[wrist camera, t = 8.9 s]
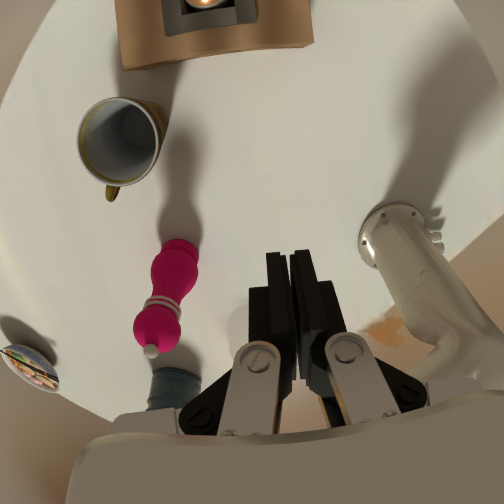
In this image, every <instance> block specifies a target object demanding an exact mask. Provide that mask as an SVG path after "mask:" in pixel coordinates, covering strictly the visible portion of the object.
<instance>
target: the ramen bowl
mask: <svg viewBox="0 0 504 504" xmlns="http://www.w3.org/2000/svg"><path fill="white" fill-rule="evenodd" d="M0 352H1V355H2V358H3V359H4V361H5V362H6V363H7V365H8V366H9V367H10V368H11V369H12V370H13V371H14V372H15V373H16V374H17V375H18V376H20V377H21V378H22V379H24V380H25V381H26V382H28V383H30V384H31V385H33V386H35V387H37V388H39V389H41V390H44V391H46V392H51V393H57V392H59V380H58V376H57V373H56V371H55V369H54V368H53V366H52V365H51V363H50V362H49V361H48V360H47V359H46V358H45V356H44V355H43V354H41V353H40V352H39V351H37V350H35V349H33V348H30V347H28V346H25V345H20V344H13V345H10V346H7V347H5V348H3V349H2V350H0Z"/></svg>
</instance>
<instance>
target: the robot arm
mask: <svg viewBox="0 0 504 504" xmlns="http://www.w3.org/2000/svg"><path fill="white" fill-rule="evenodd" d="M441 238H442V235H441V232H434V233H430V232H429V231H428V230H427V229H426V224H425V220H424V218H423V216H422V215H421V214H420V212H419V211H418V210H417V209H415V208H414V207H413V206H410V205H408V204H404V203H394V204H390V205H387V206H384V207H382V208H380V209H379V210H377V211H376V212H374V213H373V214H372V215H371V216H370V217H369V218H368V219H367V221H366V222H365V223H364V225H363V227H362V229H361V231H360V234H359V238H358V249H359V253H360V255H361V257H362V259H363V260H364V262H365V263H366V264H367V265H368V266H370V267H372V268H374V269H377V270H379V272H380V273H381V275H382V277H383V279H384V281H385V283H386V285H387V287H388V289H389V292H390V294H391V296H392V298H393V300H394V302H395V304H396V306H397V308H398V310H399V313H400V315H401V317H402V319H403V321H404V324H405V326H406V328H407V329H408V331H409V332H410V333H411V335H413V336H414V337H415V338H416V339H418V340H420V341H422V342H425V343H427V344H431V345H434V346H436V347H435V348H434V350H432V351H431V352H430V353H429V354H427V355H426V356H425V357H424V358H423V359H421V360H420V361H419V362H417V363H416V364H414V365H413V366H411V367H410V368H408V369H407V370H405V371H404V372H402V371H400V370H398V369H396V368H394V367H393V366H391V365H389V364H387V363H385V362H383V361H381V360H379V359H378V358H376V357H374V356H373V354H372V352H371V350H370V349H369V346H368V344H367V343H366V341H365V340H364V339H363V338H362V337H361V336H359V335H357V334H355V333H351V332H347V330H346V326H345V323H344V319H343V316H342V313H341V309H340V306H339V303H338V299H337V296H336V293H335V290H334V286H333V283H332V281H331V280H329V281H320V282H318V281H317V277H316V273H315V270H314V266H313V262H312V259H311V255H310V252H309V249H306V250H295V254H291V255H290V280H289V274H288V267H287V261H286V255H280V252H272V253H266V261H267V275H268V286H265V287H253V288H249V343H247V344H245V345H244V346H242V347H241V348H240V349H239V350H238V351H237V353H236V356H235V358H234V363H233V367H232V368H231V369H230V370H229V371H228V372H227V373H225V374H224V375H223V376H222V377H220V378H219V379H218V380H217V381H216V382H214V383H213V384H212V385H211V386H209V387H208V388H207V389H205V390H204V391H203V392H202V393H200V394H199V395H198V396H197V397H195V398H194V399H193V400H191V401H190V402H189V403H187V404H186V405H185V406H184V407H183V408H180V409H174V408H173V407H172V408H165V409H159V410H151V411H143V412H135V413H126V414H122V415H120V416H118V417H117V418H116V419H115V420H114V421H113V423H112V426H111V435H107V436H104V437H100V438H98V439H95V440H93V441H91V442H89V443H88V444H86V445H85V446H84V448H83V449H82V450H81V452H80V454H79V456H78V457H77V460H76V463H75V465H74V468H73V471H72V474H71V478H70V482H69V487H68V491H67V496H66V502H65V504H504V334H503V333H502V331H501V330H500V329H499V328H498V327H497V325H495V323H494V322H493V321H492V320H491V319H490V317H489V316H488V315H487V314H486V313H485V311H484V310H483V309H482V308H481V306H480V305H479V304H478V302H477V301H476V300H475V298H474V297H473V296H472V294H471V293H470V291H469V290H468V289H467V287H466V286H465V285H464V283H463V282H462V280H461V279H460V278H459V276H458V275H457V274H456V272H455V271H454V270H453V268H452V267H451V265H450V264H449V263H448V261H447V260H446V259H445V257H444V256H443V255H442V253H444V244H443V243H442V242H440V243H433V242H432V240H434V241H436V240H441ZM290 282H291V286H290ZM297 356H298V364H299V371H300V379H306V385H307V386H309V389H310V390H311V391H313V392H315V393H316V394H317V395H318V399H319V403H320V406H321V409H322V412H323V415H324V418H325V421H326V424H327V428H328V429H322V430H315V431H305V432H296V433H285V434H279V432H280V424H281V415H282V406H283V400H284V399H285V398H286V397H287V396H288V395H289V394H290V393H291V392H292V380H296V366H297Z"/></svg>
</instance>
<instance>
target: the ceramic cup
mask: <svg viewBox="0 0 504 504" xmlns="http://www.w3.org/2000/svg"><path fill="white" fill-rule="evenodd" d="M168 123H169V121H168V119H167V117H166V116H165V114H164V112H163V110H162V109H161V107H160V105H157V104H153V103H148V102H144V101H140V100H136V99H131V98H125V97H113V98H108V99H105V100H102V101H100V102H98V103H97V104H95V105H94V106H93V107H91V108H90V109H89V110H88V112H87V113H86V114H85V115H84V117H83V119H82V120H81V123H80V125H79V128H78V132H77V150H78V154H79V158H80V160H81V162H82V164H83V166H84V167H85V169H86V170H87V171H88V173H89V174H90V175H91V176H92V177H94V178H95V179H96V180H98V181H100V182H102V183H104V184H107V186H106V191H105V195H106V199H107V200H108V201H109V202H113V201H114V200H115V199H116V197H117V195H118V193H119V190H120V187H122V186H128V185H131V184H134V183H136V182H138V181H140V180H141V179H143V178H144V177H145V176H146V175H147V174H148V173H149V172H150V171H151V169H152V168H153V166H154V164H155V163H156V161H157V158H158V156H159V153H160V150H161V147H162V143H163V141H164V138H165V134H166V131H167V127H168Z"/></svg>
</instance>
